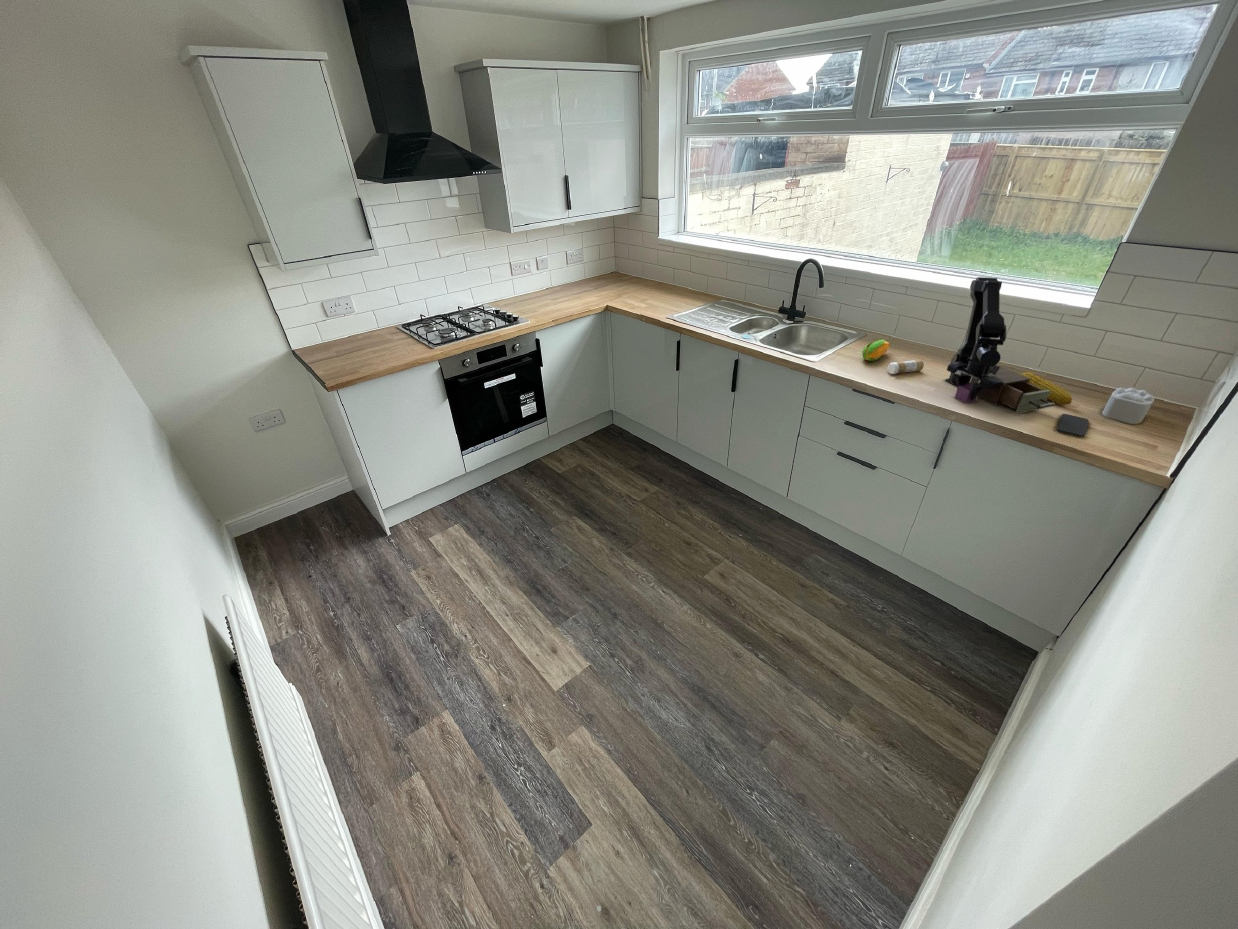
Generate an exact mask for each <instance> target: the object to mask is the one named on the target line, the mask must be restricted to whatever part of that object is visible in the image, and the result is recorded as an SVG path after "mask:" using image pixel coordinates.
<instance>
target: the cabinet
mask: <svg viewBox="0 0 1238 929" xmlns="http://www.w3.org/2000/svg"><path fill="white" fill-rule="evenodd" d="M999 366H1000V369H999V370H998V372H997V373H996V375H994V374H992V373H989V374H988V375H986V374H984V376H985V377H990V376H995V377H997V378H999V379H1002V381H1003V384H1002V387H1001V388H995V389H985V388H984V389H983V390H982V391H981V392H980V393H979V394H978V397H977V398H980V399H982V400H984V401H986V402H988V403H990V404H992V405H994V406H999V405H1004V404H1003V403H1001V402H999V399H1000V397H1001V394H1002V392H1003V389H1004V387H1005V385H1007V384H1013V383H1019V382H1027V383H1029V381H1030V378H1028V377H1025V376H1023V375H1020V373H1018V372H1016V371H1013V370H1011V369H1008V368H1006V367H1003V366H1001V365H999ZM978 381H979V380H977V379H975V378H973V377H971V380H970V384H971V385H973V384H974V383H978Z"/></svg>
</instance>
